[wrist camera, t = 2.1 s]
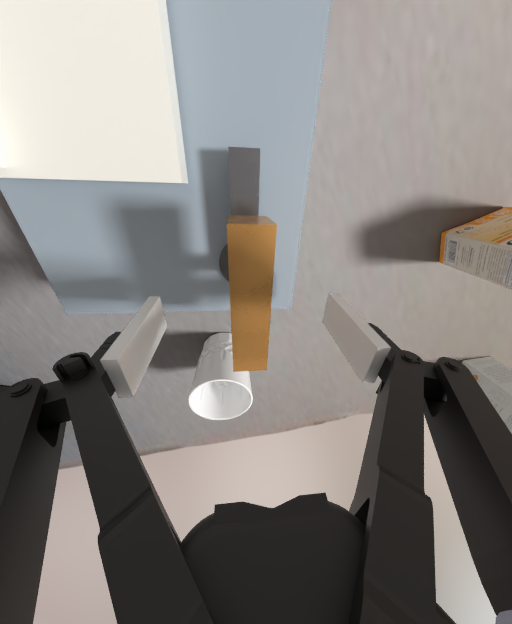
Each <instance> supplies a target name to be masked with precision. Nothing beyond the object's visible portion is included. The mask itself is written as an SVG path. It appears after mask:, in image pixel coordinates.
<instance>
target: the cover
mask: <svg viewBox="0 0 512 624" xmlns="http://www.w3.org/2000/svg"><path fill="white" fill-rule="evenodd" d="M0 178H19V179H52V180H85V181H118V182H152V183H185V184H188V177H187V168H186V160H185V152H184V144H183V136H182V128H181V120H180V111H179V103H178V95H177V87H176V79H175V71H174V63H173V54H172V46H171V38H170V30H169V22H168V14H167V6H166V0H0Z"/></svg>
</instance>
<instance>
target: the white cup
mask: <svg viewBox="0 0 512 624" xmlns="http://www.w3.org/2000/svg"><path fill="white" fill-rule="evenodd" d="M252 401H253V397H252V390H251V383H250V376H249V371H239V372H233V353H232V334H231V333H217V334H214V335H211V336H210V337H209V338H208V339H207V340H206V341H205V342H204V346H203V350H202V353H201V355H200V358H199V361H198V364H197V368H196V371H195V375H194V379H193V383H192V387H191V391H190V394H189V398H188V403H189V406H190V408H191V409H192V410H193V411H194V412H195V413H196V414H197V415H199V416H201V417H204V418H207V419H212V420H226V419H231V418H235V417H237V416H240V415H241V414H243V413H244V412H246V411H247V410H248V409H249V408H250V406H251V404H252Z"/></svg>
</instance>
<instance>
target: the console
mask: <svg viewBox="0 0 512 624" xmlns="http://www.w3.org/2000/svg"><path fill="white" fill-rule="evenodd" d="M331 1H332V0H166V6H167V14H168V22H169V30H170V38H171V46H172V54H173V63H174V71H175V79H176V87H177V95H178V103H179V111H180V120H181V128H182V136H183V144H184V152H185V160H186V168H187V177H188V184H185V183H152V182H118V181H85V180H52V179H19V178H0V190H1V192H2V194H3V196H4V197H5V199H6V201H7V203H8V205H9V207H10V209H11V211H12V213H13V214H14V216H15V218H16V220H17V222H18V224H19V226H20V228H21V230H22V231H23V233H24V235H25V237H26V239H27V241H28V243H29V245H30V247H31V248H32V250H33V252H34V254H35V256H36V258H37V260H38V262H39V264H40V265H41V267H42V269H43V271H44V273H45V275H46V277H47V279H48V281H49V282H50V284H51V286H52V288H53V290H54V292H55V294H56V296H57V298H58V299H59V301H60V303H61V305H62V307H63V309H64V311H65V313H66V315H71V314H108V313H137V312H138V310H139V309H140V308H141V307H142V305H143V304H144V303H145V301H146V300H147V299H148V297H149V296H160V299H161V303H162V307H163V311H164V312H182V311H219V310H231V309H230V287H229V265H228V243H227V219H228V215H231V209H230V180H229V151H228V147H246V148H260V180H259V215H258V216H268V217H269V218H270V219H271V220H272V221H273V222H275V223H276V224H277V233H276V246H275V260H274V274H273V288H272V302H271V309H291V306H292V299H293V291H294V284H295V276H296V268H297V261H298V253H299V245H300V238H301V230H302V222H303V215H304V207H305V200H306V192H307V184H308V177H309V169H310V161H311V154H312V146H313V138H314V131H315V123H316V116H317V108H318V100H319V93H320V85H321V77H322V70H323V62H324V54H325V47H326V39H327V31H328V24H329V16H330V9H331Z"/></svg>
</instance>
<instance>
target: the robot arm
mask: <svg viewBox="0 0 512 624" xmlns="http://www.w3.org/2000/svg"><path fill="white" fill-rule="evenodd" d="M322 322H323V323H324V325H325V327H326V328H327V330H328V331H329V333H330V334H331V336H332V337H333V339H334V340H335V342H336V343H337V345H338V346H339V348H340V349H341V351H342V353H343V354H344V356H345V357H346V359H347V360H348V362H349V363H350V365H351V366H352V368H353V369H354V371H355V372H356V374H357V375H358V377H359V379H360V380H361V382H362V383H374V382H375V380H376V378H377V376H379V377H380V378H381V380H382V381H381V383H380V385H379V387H378V389H377V391H376V393H377V394H378V395H377V400H376V404H375V409H374V413H373V417H372V422H371V427H370V431H369V435H368V440H367V444H366V449H365V453H364V457H363V462H362V467H361V471H360V475H359V480H358V485H357V488H356V493H355V496H354V499H353V502H352V504H351V507H350V510H349V511H347V510H346V509H344V508H343V507H341V506H339V505H337V504H334V503H332V502H329V501H328V500H327V497H326V493H319V494H310V495H300V496H297V497H296V498H293V499H291V500H289V501H287V502H285V503H283V504H281V505H279V506H277V507H275V508H267V507H263V506H258V505H255V504H250V503H246V502H236V503H227V504H217V505H215V511H214V513H213V514H211V515H209V516H208V517H206V518H205V519H203V520H202V521H200V522H199V523H198V524H197V525H196V526H195V527H194V528H193V529H192V530H191V531H190V532H189V533H188V534H187V536H186V537H185V538H184V539H183V541H182V542H181V541H180V539H179V537H178V535H177V533H176V531H175V529H174V527H173V525H172V523H171V521H170V519H169V517H168V515H167V513H166V511H165V509H164V507H163V504H162V502H161V500H160V498H159V496H158V494H157V492H156V490H155V488H154V486H153V483H152V481H151V479H150V477H149V475H148V473H147V471H146V469H145V467H144V465H143V463H142V460H141V458H140V456H139V454H138V452H137V450H136V448H135V446H134V444H133V442H132V440H131V437H130V435H129V433H128V431H127V429H126V427H125V425H124V423H123V421H122V419H121V416H120V414H119V412H118V410H117V408H116V406H115V404H114V402H113V400H112V398H111V397H112V395H113V394H114V392H115V391H116V393H117V395H118V397H119V398H123V397H134V395H135V393H136V391H137V389H138V387H139V384H140V382H141V380H142V378H143V376H144V374H145V372H146V370H147V368H148V366H149V364H150V361H151V359H152V357H153V355H154V353H155V351H156V349H157V347H158V345H159V343H160V340H161V338H162V336H163V334H164V332H165V330H166V328H167V323H166V319H165V315H164V311H163V307H162V303H161V299H160V296H149V297H148V299H147V300H146V301H145V303H144V304H143V305H142V307H141V308H140V309H139V310H138V312H137V313H136V314H135V316H134V317H133V318H132V319H131V321H130V322H129V323H128V325H127V326H126V327H125V329H124V330H123V331H122V332H115V333H114V334H112V335H111V336H109V337H108V338H107V339H106V340H105V342H104V343H103V344H102V345H101V346H100V348H99V349H98V350H97V351H96V352H95V353H94V355H93V356H92V357H91V358H90V356H89V355H88V354H87V353H83V352H79V353H74V354H70V355H68V356H65V357H63V358H62V359H60V360H59V361H57V362H56V363H55V365H54V366H53V371H54V372H55V374H56V375H57V377H58V378H59V380H58V381H55V382H51V383H47V384H43V383H42V382H41V380H39V379H38V378H30V379H26V380H23V381H20V382H17V383H15V384H13V385H12V386H10V387H7V386H0V624H33V618H34V613H35V607H36V601H37V595H38V589H39V583H40V577H41V571H42V565H43V559H44V553H45V547H46V541H47V535H48V529H49V523H50V516H51V511H52V504H53V499H54V493H55V486H56V480H57V474H58V468H59V462H60V456H61V450H62V444H63V438H64V432H65V426H66V422H67V421H70V420H71V421H72V424H73V428H74V432H75V436H76V440H77V443H78V447H79V451H80V455H81V458H82V462H83V466H84V470H85V473H86V477H87V480H88V484H89V488H90V492H91V496H92V499H93V503H94V507H95V511H96V515H97V519H98V522H99V526H100V533H99V535H98V546H99V551H100V555H101V559H102V563H103V567H104V571H105V575H106V579H107V583H108V588H109V591H110V596H111V599H112V604H113V608H114V612H115V616H116V620H117V623H118V624H456V623H455V622H454V621H453V620H452V619H451V618H450V617H449V616H448V615H447V613H446V612H445V611H444V610H443V609H442V608H441V607H440V606H439V605H438V604H437V603H436V589H435V556H434V524H433V506H432V501H431V499H430V497H428V496H427V495H425V493H424V415H425V418H426V421H427V424H428V427H429V430H430V433H431V436H432V439H433V442H434V445H435V447H436V451H437V453H438V457H439V459H440V462H441V466H442V469H443V472H444V474H445V477H446V480H447V484H448V486H449V490H450V492H451V496H452V498H453V502H454V505H455V508H456V510H457V513H458V516H459V520H460V523H461V526H462V528H463V531H464V534H465V537H466V540H467V543H468V546H469V549H470V552H471V555H472V558H473V561H474V564H475V566H476V569H477V572H478V575H479V577H480V580H481V583H482V585H483V587H484V589H485V592H486V594H487V596H488V598H489V600H490V603H491V605H492V607H493V609H494V612H495V613H496V615H497V617H496V624H512V434H511V432H510V431H509V429H508V428H507V426H506V425H505V423H504V422H503V420H502V419H501V417H500V416H499V414H498V413H497V411H496V410H495V408H494V406H493V405H492V403H491V402H490V400H489V399H488V397H487V396H486V394H485V393H484V391H483V390H482V388H481V387H480V385H479V384H478V382H477V381H476V379H475V378H474V376H473V375H472V373H471V372H470V370H469V369H468V368H467V367H466V366H465V365H463V364H462V363H461V362H459V361H457V360H455V359H451V358H447V357H441V358H439V359H438V360H437V362H436V363H431V362H425V361H423V360H422V359H421V358H420V357H419V356H417V355H416V354H414V353H412V352H409V351H405V350H401V349H400V348H399V347H398V346H397V345H396V344H395V343H393V342H392V341H391V340H390V339H389V338H388V337H387V336H386V335H385V334H384V333H383V332H382V331H381V330H380V329H379V328H378V327H376V326H375V325H373V324H371V323H367V322H366V321H365V320H364V319H363V318H362V317H361V316H360V315H359V314H358V313H357V312H356V311H355V310H354V309H353V308H352V307H351V306H350V305H349V304H348V303H347V302H346V301H345V300H344V299H343V298H342V297H341V296H340V295H339V294H338V293H329V295H328V299H327V304H326V308H325V312H324V317H323V321H322Z"/></svg>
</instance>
